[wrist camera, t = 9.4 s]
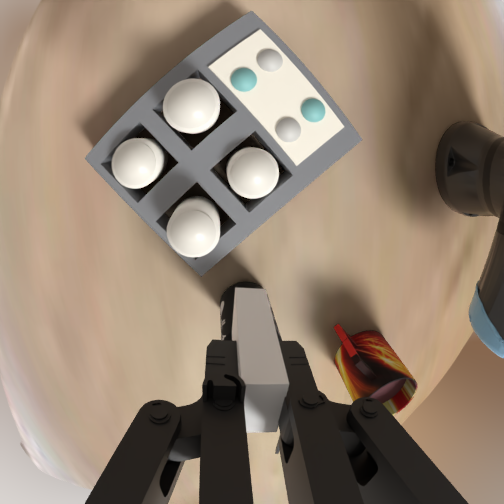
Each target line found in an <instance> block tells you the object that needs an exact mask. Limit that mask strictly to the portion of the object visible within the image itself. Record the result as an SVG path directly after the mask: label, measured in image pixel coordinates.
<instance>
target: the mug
mask: <svg viewBox="0 0 504 504" xmlns="http://www.w3.org/2000/svg"><path fill="white" fill-rule="evenodd" d="M334 329H335V331H336V333H337V334H338V336H339V338H340V339H341V341H342V343H343V344H342V345H341V346H340V348H339V349H338V351H337V353H336V356H335V365H336V367H337V369H338V371H339V373H340V375H341V377H342V379H343V381H344V383H345V385H346V388H347V390H348V392H349V394H350V396H351V398H352V400H353V402H354V401H355V400H356V399H358V398H362V397H370V398H374V399H376V400H378V401H380V402H381V403H382V404H383V405H384V406H385V407H386V408H387V410H388V411H389V412H390V413H391V414H392V415H395V414H396V413H398V412H399V411H401V410H402V409H403V408H404V407H406V405H407V404H408V403H409V402H410V401H411V400H412V399H413V397H414V395H415V393H416V391H417V382H416V381H415V379H414V378H413V376H412V375H411V374H410V372H409V371H408V369H407V368H406V367H405V365H404V364H403V363H402V361H401V360H400V358H399V357H398V356H397V354H396V353H395V352H394V350H393V349H392V348H391V346H390V345H389V344H388V342H387V341H386V340H385V338H384V337H383V336H382V335H381V334H380V333H379V332H376V331H363V332H360V333H357V334H355V335H353V336H351V337H350V336H349V335H348V334H347V333H346V332H345V331H344V329H343V328H342V327H341V326H340V325H339V324H337V325H336V326H335V327H334Z"/></svg>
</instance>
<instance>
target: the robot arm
mask: <svg viewBox="0 0 504 504" xmlns="http://www.w3.org/2000/svg"><path fill="white" fill-rule="evenodd" d="M436 179H437V184H438V188H439V191H440V194H441V196H442V198H443V200H444V202H445V203H446V204H447V205H448V207H449V208H451V209H452V210H453V211H455V212H458V213H460V214H462V215H465V216H470V217H474V216H496V217H498V218H499V222H498V226H497V229H496V232H495V236H494V239H493V242H492V246H491V249H490V252H489V255H488V258H487V261H486V264H485V266H484V269H483V272H482V275H481V277H480V280H479V281H478V282H477V284H476V290H475V293H474V296H473V299H472V302H471V304H470V307H469V318H470V322H471V325H472V327H473V329H474V331H475V333H476V334H477V335H478V337H479V338H480V340H481V341H482V342H483V343H484V344H485V345H486V346H487V347H488V348H489V349H490V350H492V351H493V352H494V353H495V354H497V355H498V356H500V357H501V358H504V137H502V136H500V135H499V134H496V133H495V132H493V131H491V130H489V129H487V128H486V127H485V126H483V125H481V124H479V123H475V122H458V123H455V124H454V125H452V126H451V127H450V128H449V129H448V130H447V131H446V132H445V134H444V135H443V137H442V139H441V142H440V144H439V147H438V151H437V156H436ZM202 392H203V395H202V397H201V398H200V399H199V400H198V401H197V402H195V403H193V404H190V405H187V406H181V407H176V406H175V405H174V404H173V403H170V402H168V401H164V400H154V401H150V402H148V403H146V404H144V405H143V406H142V407H141V408H140V410H139V412H138V413H137V415H136V417H135V418H134V420H133V422H132V423H131V425H130V427H129V428H128V430H127V432H126V434H125V435H124V437H123V439H122V440H121V442H120V444H119V445H118V447H117V449H116V451H115V452H114V454H113V456H112V457H111V459H110V461H109V462H108V464H107V466H106V468H105V469H104V471H103V473H102V474H101V476H100V478H99V480H98V481H97V483H96V485H95V487H94V488H93V490H92V492H91V494H90V495H89V497H88V499H87V500H86V502H85V504H168V502H169V500H170V497H171V495H172V492H173V490H174V487H175V485H176V482H177V480H178V477H179V475H180V472H181V470H182V467H183V464H184V462H185V460H190V459H194V458H199V457H200V488H199V504H253V494H252V485H251V475H250V464H249V454H248V443H247V432H277V429H278V425H279V429H280V437H279V440H278V444H277V447H276V453H275V454H278V453H279V450H280V455H281V461H282V467H283V472H284V478H285V484H286V490H287V495H288V501H289V504H468V503H467V501H466V500H465V499H464V498H463V497H462V496H461V494H460V493H459V492H458V491H457V490H456V489H455V488H454V486H453V485H452V484H451V483H450V482H449V481H448V479H447V478H446V477H445V476H444V475H443V474H442V472H441V471H440V470H439V469H438V468H437V467H436V466H435V464H434V463H433V462H432V461H431V460H430V458H429V457H428V456H427V455H426V454H425V453H424V451H423V450H422V449H421V448H420V447H419V446H418V444H417V443H416V442H415V441H414V440H413V439H412V437H411V436H410V435H409V434H408V433H407V432H406V430H405V429H404V428H403V427H402V426H401V425H400V423H399V422H398V421H397V420H396V419H395V418H394V416H393V415H392V414H391V413H390V412H389V411H388V410H387V408H386V407H385V406H384V405H383V404H382V403H381V402H380V401H378V400H376V399H374V398H370V397H362V398H358V399H356V400H355V401H354V402H353V403H352V405H346V404H340V403H335V402H332V401H329V400H328V399H327V397H326V396H325V394H323V393H322V392H320V391H318V389H317V386H316V383H315V380H314V377H313V374H312V371H311V369H310V366H309V363H308V360H307V358H306V354H305V351H304V348H303V347H302V346H301V345H300V344H299V343H298V342H297V341H278V337H277V333H276V329H275V325H274V321H273V317H272V313H271V309H270V305H269V301H268V297H267V293H266V289H256V288H236V287H235V297H234V310H233V323H232V341H230V340H212V341H211V342H210V344H209V345H208V346H207V353H206V368H205V379H204V382H203V385H202Z"/></svg>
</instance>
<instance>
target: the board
mask: <svg viewBox="0 0 504 504" xmlns="http://www.w3.org/2000/svg"><path fill="white" fill-rule="evenodd" d="M199 78H201V79H202V80H204V81H206V82H208V83H209V84H211V85H212V86H213V87H214V88H215V90H216V91H217V93H218V95H219V98H220V99H221V100H222V101H223V102H224V103H225V104H226V105H227V106H228V107H229V108H230V110H231V111H232V112H233V113H234V114H233V115H232V116H230V117H229V118H228V119H227V120H226V121H225V122H223V123H222V124H221V125H220V126H219V127H218V128H216V129H215V130H214V131H213V132H212V133H211V134H209V135H208V136H207V137H206V138H205V139H204V140H203V141H202V142H200V143H199V144H198V145H197V146H196V147H195V148H193V147H192V146H191V145H190V144H189V143H188V142H187V141H186V139H185V138H184V137H183V136H182V135H181V134H180V133H179V132H178V131H177V130H176V129H175V128H173V127H172V126H171V125H170V124H169V123H168V122H167V120H166V118H165V117H164V116H163V115H162V114H161V112H162V111H163V101H164V98H165V96H166V94H167V92H168V91H169V90H170V88H171V87H172V86H174V85H175V84H176V83H178V82H180V81H182V80H186V79H199ZM144 128H146V129H147V130H148V131H149V132H150V133H151V134H152V135H153V136H154V137H155V138H156V139H157V140H158V141H159V142H160V143H161V145H162V146H163V147H164V148H165V149H166V150H167V151H168V152H169V153H170V154H171V155H172V156H173V157H174V158H175V159H176V160H177V161H178V162H179V163H178V164H177V165H176V166H175V167H174V168H173V169H171V170H170V171H169V172H168V173H167V174H166V175H165V176H164V177H163V178H162V179H161V180H160V181H159V182H158V183H157V184H156V185H155V186H154V187H153V188H152V189H151V190H150V191H149V192H148V193H147V194H145V193H144V192H143V191H142V190H141V189H140V188H138V189H132V188H128V187H125V186H123V185H122V184H120V183H119V182H118V181H117V179H116V178H115V176H114V174H113V171H112V158H113V155H114V153H115V151H116V149H117V148H118V147H119V146H120V145H121V144H122V143H123V142H125V141H127V140H129V139H133V138H135V137H136V136H137V135H138V134H139V133H140V132H141V131H142V130H143V129H144ZM251 134H253V135H254V136H255V137H256V138H257V139H258V141H259V142H260V143H261V144H262V145H263V146H264V148H265V149H266V150H267V151H268V152H269V153H270V154H271V155H272V156H273V157H274V159H275V160H276V162H277V163H278V164H279V165H280V166H281V167H282V169H283V170H284V172H282V173H281V174H280V175H279V178H278V181H277V184H276V186H275V187H274V189H273V190H272V191H271V192H270V193H268V194H267V195H265V196H263V197H260V198H255V199H251V200H250V201H249V202H247V203H246V204H245V203H244V202H243V201H242V200H241V199H240V198H239V197H238V195H237V194H236V193H235V192H234V191H233V190H232V189H231V188H230V187H229V186H228V185H227V183H226V182H225V181H224V180H223V179H222V178H221V177H220V176H219V175H218V174H217V173H216V172H215V170H214V169H213V167H214V166H215V165H216V164H217V163H218V162H219V161H221V160H222V159H223V158H224V157H225V156H226V155H227V154H229V153H230V152H231V151H232V150H233V149H234V148H235V147H237V146H238V145H239V144H240V143H241V142H242V141H244V140H245V139H246V138H247V137H248V136H250V135H251ZM360 141H362V138H361V137H360V136H359V134H358V133H357V131H356V130H355V128H354V127H353V126H352V124H351V123H350V122H349V120H348V119H347V117H346V116H345V115H344V113H343V112H342V111H341V109H340V108H339V107H338V105H337V104H336V103H335V102H334V100H333V99H332V98H331V96H330V95H329V94H328V93H327V91H326V90H325V89H324V88H323V86H322V85H321V84H320V83H319V82H318V80H317V79H316V78H315V77H314V76H313V74H312V73H311V72H310V71H309V70H308V69H307V67H306V66H305V65H304V64H303V63H302V62H301V61H300V59H299V58H298V57H297V56H296V55H295V54H294V53H293V52H292V51H291V50H290V48H289V47H288V46H287V45H286V44H285V43H284V42H283V41H282V40H281V39H280V38H279V37H278V36H277V35H276V34H275V33H274V32H273V31H272V30H271V29H270V28H269V27H268V26H267V25H266V24H265V23H264V22H263V21H262V20H261V19H260V18H259V17H258V16H257V15H256V14H255V13H254V12H253V11H250V12H249V13H247V14H246V15H244V16H242V17H241V18H239V19H238V20H236V21H235V22H233V23H232V24H230V25H229V26H227V27H226V28H225V29H223V30H222V31H220V32H219V33H217V34H216V35H215V36H213V37H212V38H211V39H209V40H208V41H207V42H205V43H204V44H203V45H201V46H200V47H199V48H197V49H196V50H195V51H193V52H192V53H191V54H190V55H188V56H187V57H186V58H185V59H183V60H182V61H181V62H180V63H179V64H177V65H176V66H175V67H174V68H173V69H172V70H170V71H169V72H168V73H167V74H166V75H165V76H163V77H162V78H161V79H160V80H159V81H158V82H157V83H156V84H155V85H153V86H152V87H151V88H150V89H149V90H148V91H147V92H146V93H145V94H144V95H143V96H142V97H141V98H140V99H139V100H138V101H137V102H136V103H135V104H134V105H133V106H132V107H131V108H130V109H129V110H128V111H127V112H126V113H125V114H124V115H123V116H122V117H121V118H120V119H119V120H118V121H117V122H116V123H115V124H114V125H113V126H112V127H111V128H110V130H109V131H108V132H107V133H106V134H105V135H104V136H103V137H102V138H101V140H100V141H99V142H98V143H97V144H96V145H95V146H94V148H93V149H92V150H91V151H90V152H89V154H88V155H87V156H86V157H85V159H86V160H87V161H88V163H89V164H90V165H91V166H92V167H93V168H94V169H95V170H96V171H97V172H98V173H99V174H100V176H101V177H102V178H103V179H104V180H105V181H106V182H107V183H108V184H109V185H110V186H111V187H112V188H113V189H114V190H115V191H116V193H117V194H118V195H119V196H120V197H121V198H122V199H123V200H124V201H125V202H126V203H127V204H128V205H129V206H130V207H131V208H132V209H133V210H134V211H135V212H136V213H137V214H138V215H139V216H140V217H141V218H142V219H143V220H144V221H145V222H146V223H147V224H148V225H149V226H150V227H151V228H152V229H153V230H154V231H155V232H156V233H157V234H158V235H159V236H160V237H161V238H162V239H163V240H164V241H165V242H166V243H167V244H168V245H169V246H170V247H171V248H172V249H173V247H172V246H171V245H170V243H169V241H168V238H167V225H168V222H169V220H170V219H169V218H168V217H167V216H166V215H165V214H164V213H165V212H166V211H167V210H168V209H169V208H170V207H171V206H172V205H173V204H174V203H175V202H176V201H177V200H178V199H179V198H180V197H181V196H182V195H183V194H184V193H185V192H187V191H188V190H189V189H190V188H191V187H192V186H193V185H194V184H195V183H196V182H197V183H198V184H199V185H200V186H201V187H202V188H203V189H204V190H205V191H206V192H207V193H208V194H209V195H210V196H211V197H212V198H213V199H214V201H215V202H216V203H217V204H218V205H219V206H220V207H221V208H222V209H223V210H224V211H225V212H226V213H227V214H228V215H229V216H230V218H229V219H228V220H227V221H226V222H225V223H223V224H222V225H221V226H220V237H219V241H218V243H217V245H216V246H215V248H214V249H213V250H212V251H211V252H209V253H208V254H206V255H204V256H201V257H187V256H184V255H181V254H180V253H178V252H177V251H176V250H174V249H173V250H174V251H175V252H176V253H177V254H178V255H179V256H180V257H181V258H182V259H183V260H184V261H185V262H186V263H187V264H188V265H189V266H190V267H192V268H193V269H194V270H195V271H196V272H197V273H198V274H199V275H200V276H201V277H202V276H203V275H204V274H205V273H206V272H207V271H208V270H210V269H211V268H212V267H213V266H214V265H215V264H217V263H218V262H219V261H220V260H221V259H222V258H223V257H225V256H226V255H227V254H228V253H229V252H230V251H232V250H233V249H234V248H235V247H236V246H237V245H239V244H240V243H241V242H242V241H243V240H244V239H245V238H247V237H248V236H249V235H250V234H251V233H252V232H254V231H255V230H256V229H257V228H258V227H259V226H261V225H262V224H263V223H264V222H265V221H266V220H268V219H269V218H270V217H271V216H272V215H274V214H275V213H276V212H277V211H278V210H279V209H281V208H282V207H283V206H284V205H285V204H286V203H288V202H289V201H290V200H291V199H292V198H294V197H295V196H296V195H297V194H298V193H299V192H301V191H302V190H303V189H304V188H305V187H307V186H308V185H309V184H310V183H311V182H312V181H314V180H315V179H316V178H317V177H318V176H320V175H321V174H322V173H323V172H324V171H326V170H327V169H328V168H329V167H330V166H332V165H333V164H334V163H335V162H336V161H338V160H339V159H340V158H341V157H342V156H344V155H345V154H346V153H347V152H348V151H350V150H351V149H352V148H353V147H354V146H356V145H357V144H358V143H359V142H360Z"/></svg>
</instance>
